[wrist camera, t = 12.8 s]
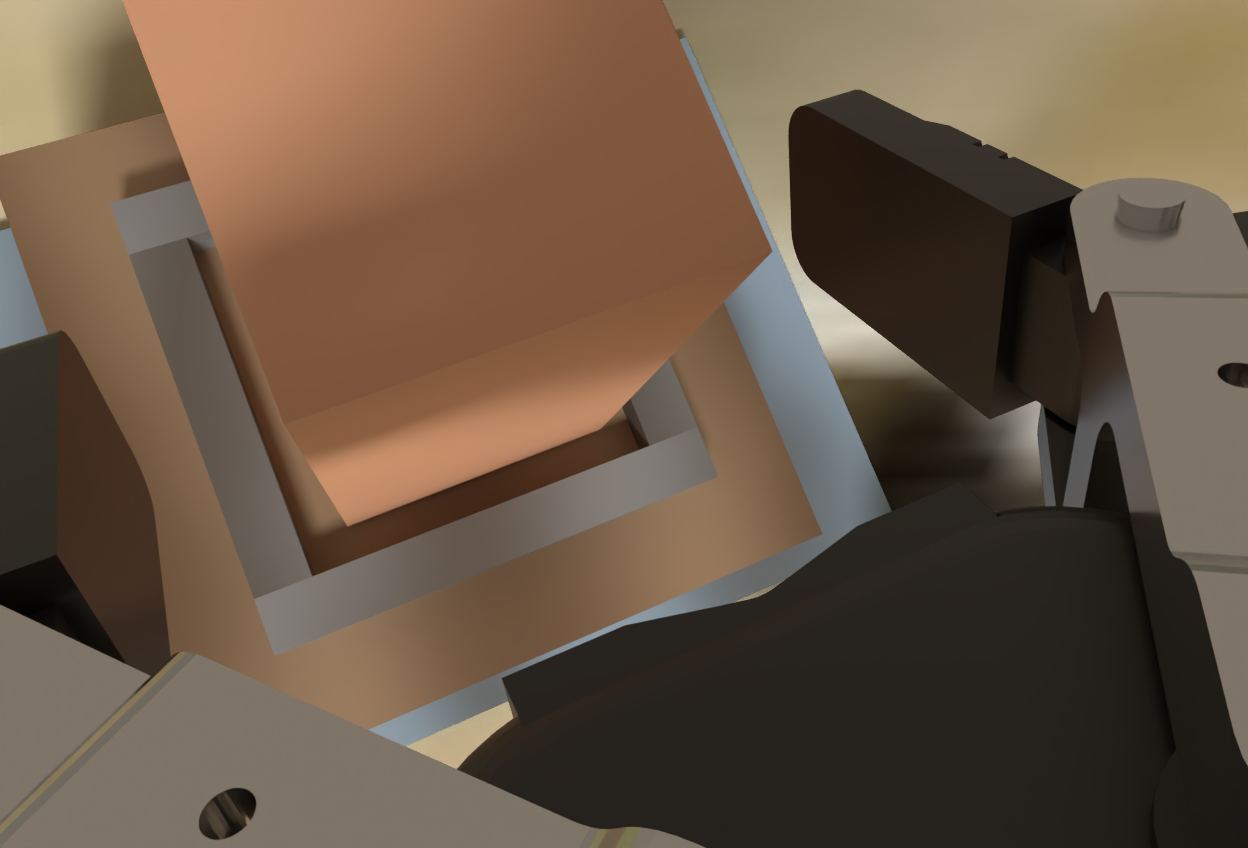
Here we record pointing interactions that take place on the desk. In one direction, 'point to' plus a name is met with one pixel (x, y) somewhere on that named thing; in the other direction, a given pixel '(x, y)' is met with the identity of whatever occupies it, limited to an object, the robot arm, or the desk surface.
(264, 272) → the terracotta block
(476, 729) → the desk surface
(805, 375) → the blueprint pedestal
